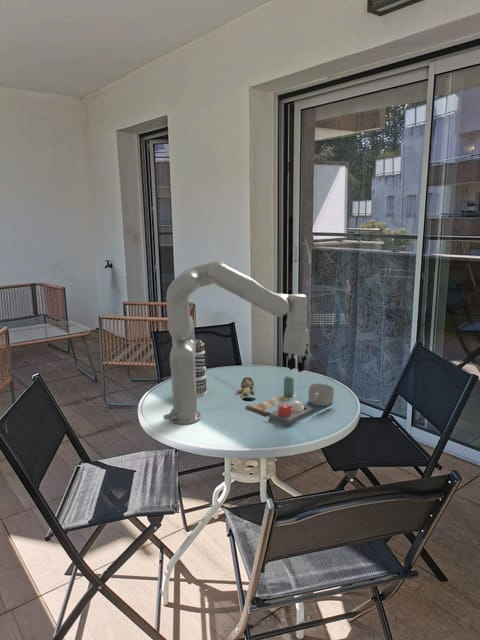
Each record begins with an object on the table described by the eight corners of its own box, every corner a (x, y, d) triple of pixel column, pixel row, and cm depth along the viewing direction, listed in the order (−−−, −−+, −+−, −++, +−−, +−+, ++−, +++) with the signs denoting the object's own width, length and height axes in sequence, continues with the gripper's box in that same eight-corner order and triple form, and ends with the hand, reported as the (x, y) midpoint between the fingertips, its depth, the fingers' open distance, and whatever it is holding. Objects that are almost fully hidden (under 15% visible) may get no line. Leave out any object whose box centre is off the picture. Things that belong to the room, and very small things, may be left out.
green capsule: (289, 397, 211) (289, 378, 208) (281, 395, 214) (282, 375, 212) (295, 395, 213) (296, 375, 211) (288, 392, 217) (288, 373, 215)
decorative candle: (203, 397, 216) (201, 344, 210) (184, 395, 219) (182, 342, 213) (210, 390, 224) (208, 339, 219) (192, 388, 227) (190, 337, 222)
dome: (297, 417, 191) (297, 405, 190) (286, 413, 195) (286, 401, 194) (306, 413, 195) (306, 400, 194) (295, 409, 200) (295, 397, 198)
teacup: (315, 398, 213) (315, 381, 211) (338, 403, 206) (338, 385, 205) (300, 408, 201) (300, 390, 200) (323, 414, 195) (324, 395, 194)
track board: (267, 415, 195) (267, 413, 194) (245, 408, 203) (245, 405, 203) (304, 398, 212) (304, 396, 212) (283, 392, 220) (283, 390, 220)
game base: (289, 426, 184) (289, 411, 183) (269, 419, 191) (269, 404, 190) (313, 414, 196) (313, 399, 194) (294, 407, 202) (294, 393, 201)
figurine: (235, 392, 211) (239, 374, 225) (236, 404, 214) (240, 386, 227) (253, 392, 210) (256, 375, 224) (253, 405, 213) (256, 387, 226)
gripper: (274, 324, 191) (274, 368, 195) (308, 330, 179) (307, 376, 183) (286, 321, 196) (286, 363, 200) (320, 326, 185) (319, 372, 188)
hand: (296, 369), depth 191 cm, fingers open, 3 cm apart
